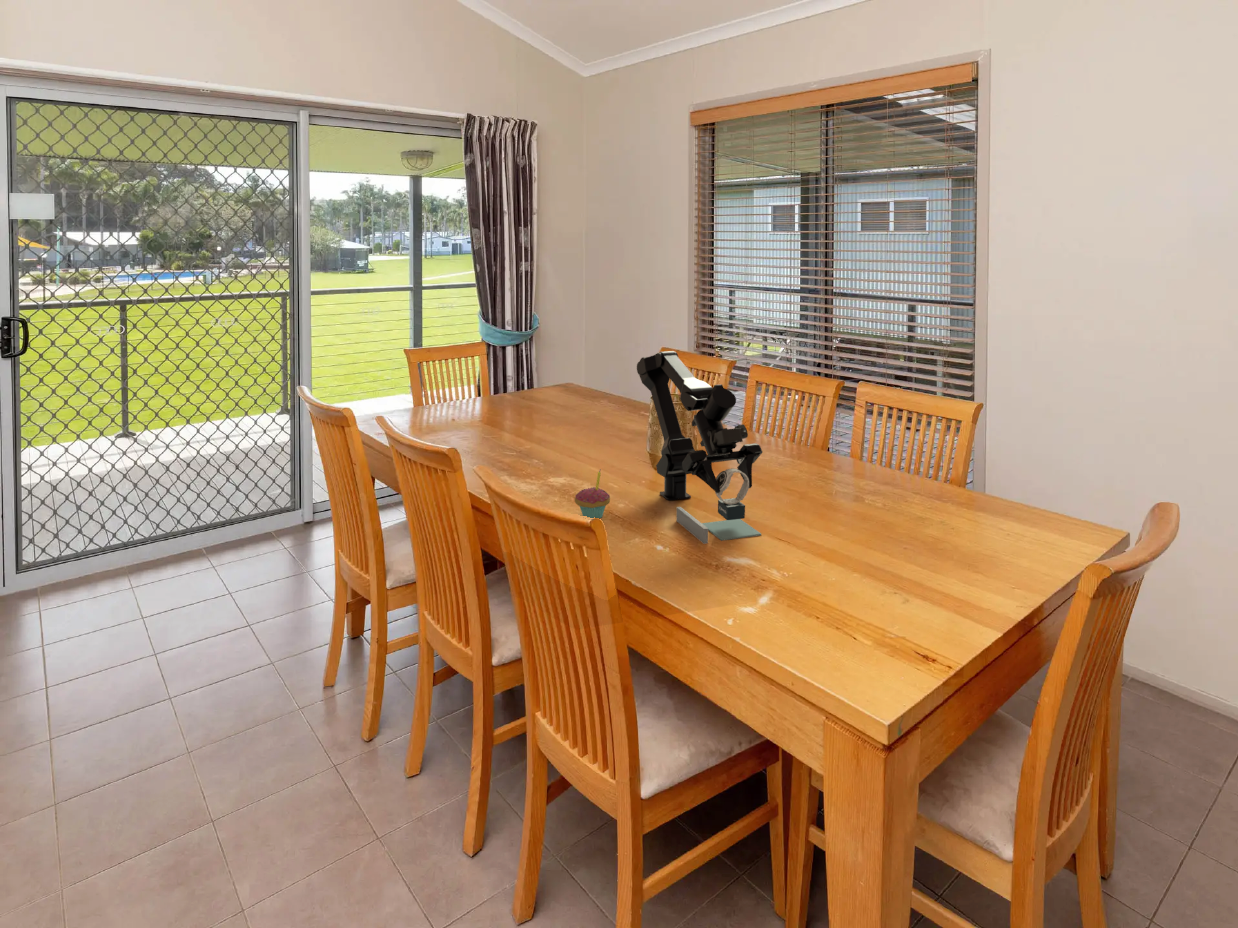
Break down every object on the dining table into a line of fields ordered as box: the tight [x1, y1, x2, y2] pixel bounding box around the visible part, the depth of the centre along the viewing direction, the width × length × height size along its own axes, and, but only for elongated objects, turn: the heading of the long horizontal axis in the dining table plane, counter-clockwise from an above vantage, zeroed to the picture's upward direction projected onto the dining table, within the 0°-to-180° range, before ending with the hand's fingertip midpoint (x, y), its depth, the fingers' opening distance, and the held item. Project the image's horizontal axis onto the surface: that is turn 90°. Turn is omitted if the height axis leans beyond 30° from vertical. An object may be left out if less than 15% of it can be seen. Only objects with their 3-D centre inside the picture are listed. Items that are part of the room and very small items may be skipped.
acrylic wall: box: [675, 506, 709, 545], centre depth 191 cm, size 16×1×4 cm, turn 19°
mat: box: [701, 519, 762, 542], centre depth 192 cm, size 11×10×1 cm
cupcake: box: [574, 469, 611, 519], centre depth 200 cm, size 9×8×12 cm
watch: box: [714, 468, 750, 520], centre depth 190 cm, size 6×8×11 cm
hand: (734, 489), depth 188 cm, fingers closed on watch, 8 cm apart
